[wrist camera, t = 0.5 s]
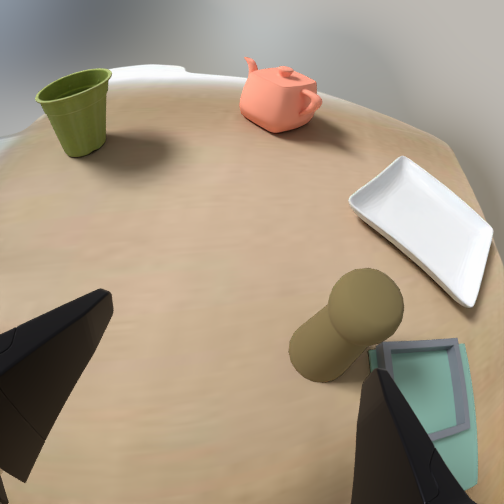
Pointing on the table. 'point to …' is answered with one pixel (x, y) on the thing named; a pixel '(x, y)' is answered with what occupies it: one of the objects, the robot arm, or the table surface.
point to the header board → (437, 397)
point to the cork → (347, 325)
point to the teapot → (278, 98)
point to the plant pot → (77, 110)
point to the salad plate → (428, 226)
